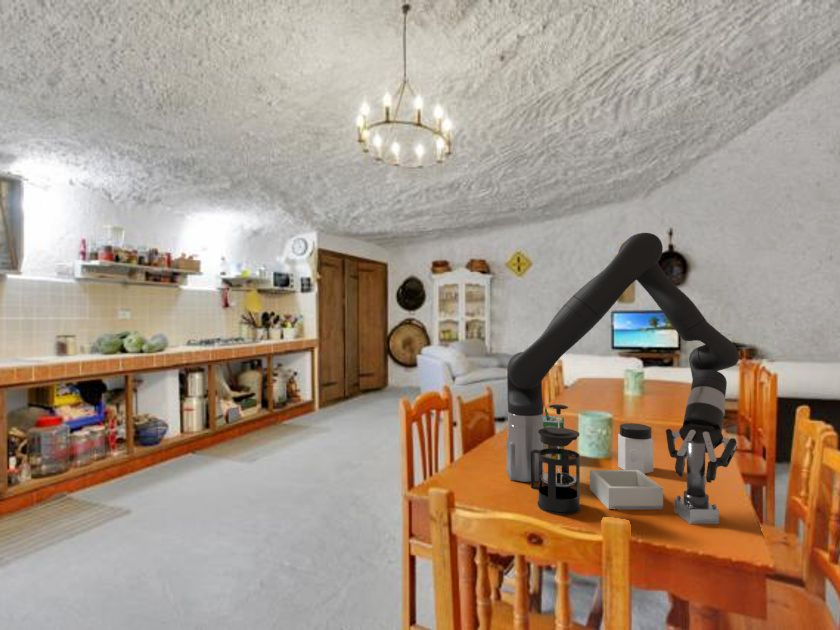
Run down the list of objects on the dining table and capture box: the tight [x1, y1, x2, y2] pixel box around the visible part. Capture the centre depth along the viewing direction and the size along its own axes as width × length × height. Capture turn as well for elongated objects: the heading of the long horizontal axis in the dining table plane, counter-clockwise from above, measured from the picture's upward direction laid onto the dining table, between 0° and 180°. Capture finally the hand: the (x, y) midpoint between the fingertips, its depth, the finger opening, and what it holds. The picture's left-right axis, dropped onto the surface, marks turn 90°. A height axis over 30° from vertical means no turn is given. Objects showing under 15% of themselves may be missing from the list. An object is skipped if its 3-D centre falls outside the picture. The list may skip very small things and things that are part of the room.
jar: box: [617, 422, 654, 475], centre depth 130 cm, size 9×8×12 cm
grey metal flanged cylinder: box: [683, 441, 710, 508], centre depth 99 cm, size 5×5×13 cm
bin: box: [589, 469, 664, 511], centre depth 109 cm, size 12×12×5 cm
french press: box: [530, 403, 582, 516], centre depth 106 cm, size 12×9×23 cm
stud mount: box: [673, 494, 720, 525], centre depth 99 cm, size 6×6×4 cm
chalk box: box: [543, 406, 565, 460], centre depth 142 cm, size 9×9×15 cm
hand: (694, 477), depth 98 cm, fingers open, 4 cm apart
